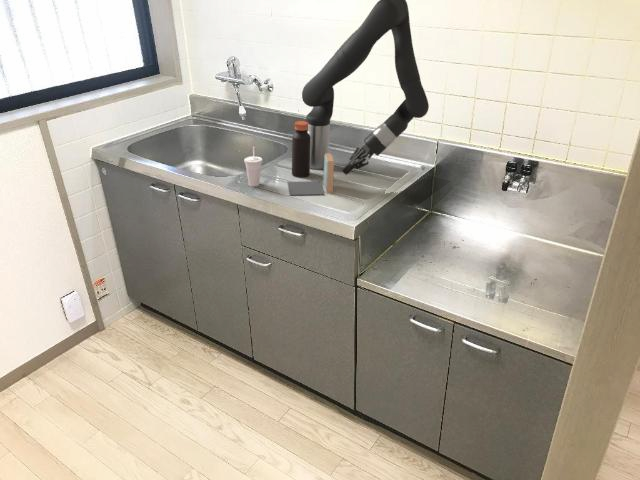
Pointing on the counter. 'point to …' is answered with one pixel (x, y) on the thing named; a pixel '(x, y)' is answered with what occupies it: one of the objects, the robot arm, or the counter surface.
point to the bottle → (301, 150)
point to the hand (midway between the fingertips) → (344, 172)
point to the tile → (328, 172)
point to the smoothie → (253, 169)
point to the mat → (305, 188)
